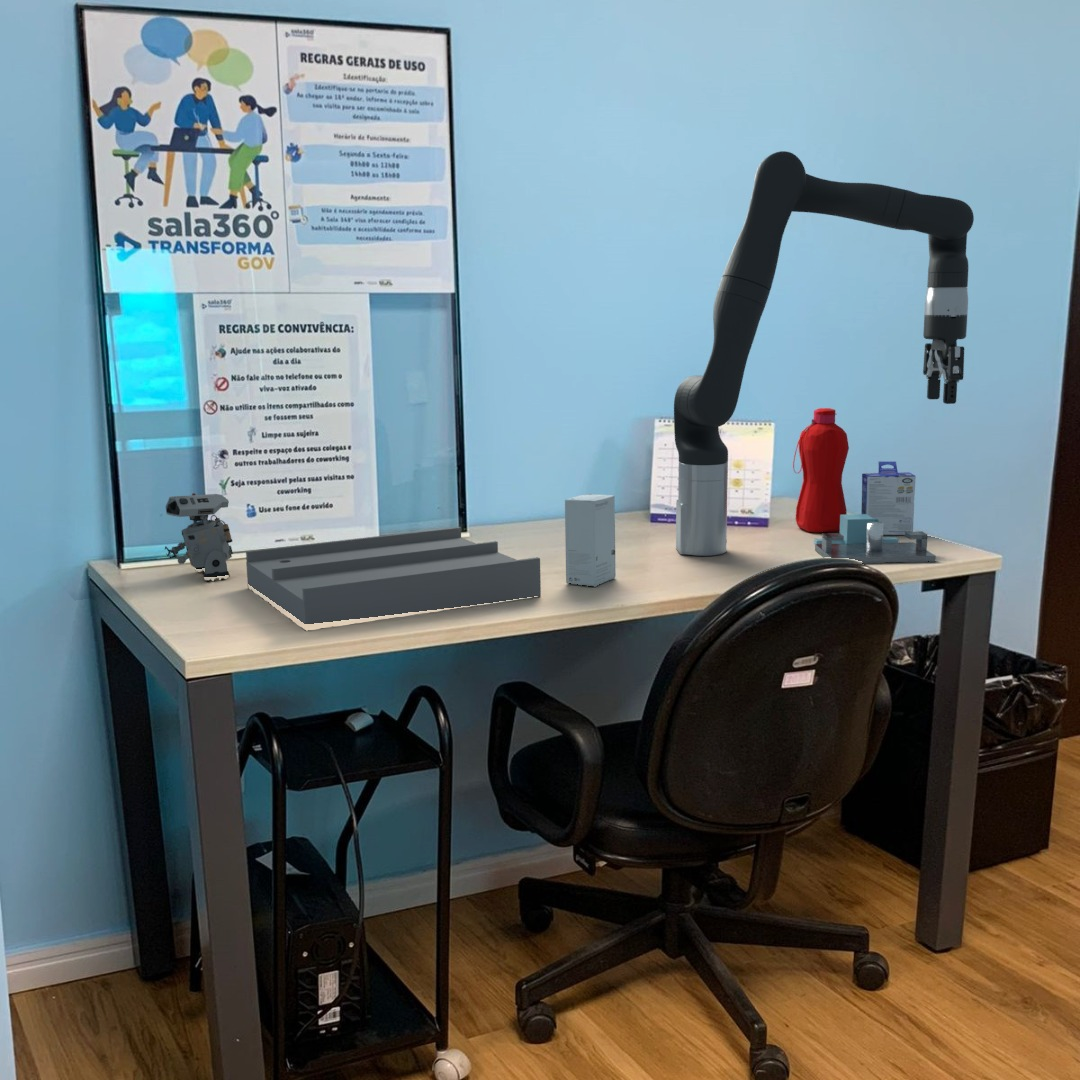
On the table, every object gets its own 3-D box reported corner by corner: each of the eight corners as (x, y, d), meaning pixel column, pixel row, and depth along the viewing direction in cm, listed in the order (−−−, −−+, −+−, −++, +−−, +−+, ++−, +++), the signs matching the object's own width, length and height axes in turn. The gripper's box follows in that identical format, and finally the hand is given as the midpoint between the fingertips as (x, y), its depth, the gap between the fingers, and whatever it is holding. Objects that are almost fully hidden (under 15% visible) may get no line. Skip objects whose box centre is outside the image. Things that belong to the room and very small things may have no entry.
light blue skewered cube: (818, 547, 237) (819, 520, 236) (812, 542, 242) (812, 515, 241) (901, 545, 238) (902, 518, 237) (892, 540, 243) (893, 513, 242)
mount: (831, 564, 223) (833, 530, 222) (814, 550, 235) (816, 518, 234) (935, 562, 224) (937, 528, 223) (913, 548, 236) (914, 516, 234)
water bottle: (783, 526, 258) (786, 407, 253) (832, 524, 260) (836, 405, 255) (800, 535, 249) (803, 411, 244) (851, 532, 251) (855, 410, 246)
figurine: (162, 575, 221) (156, 493, 218) (227, 568, 226) (222, 488, 223) (171, 586, 213) (165, 501, 210) (238, 578, 218) (233, 495, 215)
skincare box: (595, 588, 208) (594, 501, 205) (563, 584, 211) (562, 498, 208) (617, 577, 215) (617, 493, 212) (586, 574, 218) (585, 491, 215)
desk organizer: (540, 599, 203) (540, 558, 201) (305, 634, 184) (303, 589, 183) (459, 563, 230) (458, 526, 228) (248, 590, 211) (245, 551, 210)
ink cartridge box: (907, 530, 253) (910, 460, 250) (914, 535, 247) (918, 464, 244) (858, 530, 253) (861, 460, 250) (865, 536, 248) (868, 464, 245)
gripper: (912, 312, 233) (908, 398, 236) (939, 313, 219) (934, 405, 222) (951, 311, 233) (947, 397, 236) (981, 313, 219) (975, 404, 222)
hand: (941, 401), depth 229 cm, fingers open, 8 cm apart
